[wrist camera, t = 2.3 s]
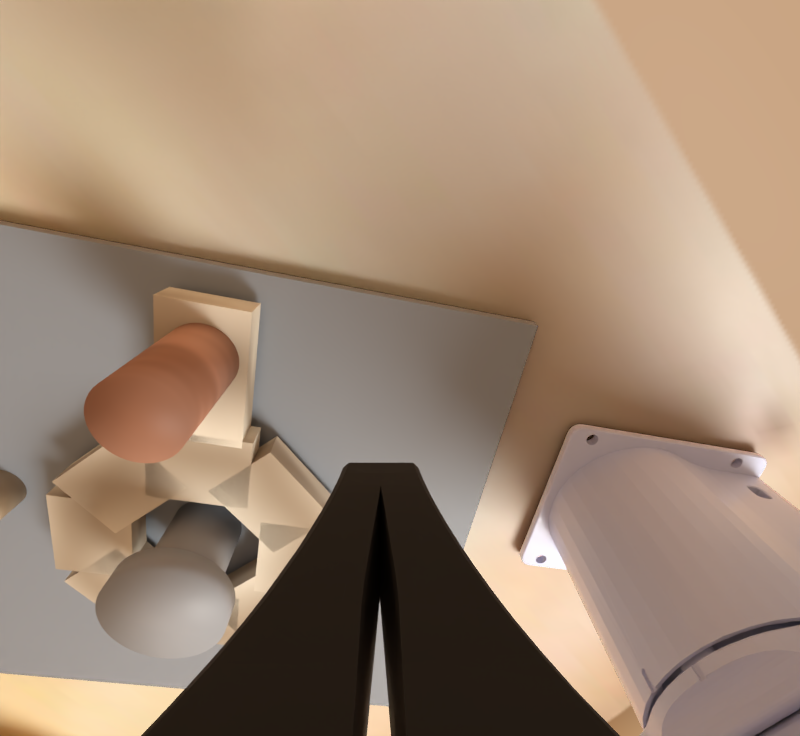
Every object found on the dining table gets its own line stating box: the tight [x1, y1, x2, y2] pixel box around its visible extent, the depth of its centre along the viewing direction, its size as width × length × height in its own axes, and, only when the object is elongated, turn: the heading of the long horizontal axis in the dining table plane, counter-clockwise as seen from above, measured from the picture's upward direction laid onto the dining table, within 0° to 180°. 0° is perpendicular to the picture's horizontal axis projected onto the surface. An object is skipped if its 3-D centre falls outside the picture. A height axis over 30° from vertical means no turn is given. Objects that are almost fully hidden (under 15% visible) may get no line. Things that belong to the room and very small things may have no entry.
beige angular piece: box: [46, 287, 331, 645], centre depth 16 cm, size 17×12×6 cm
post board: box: [0, 220, 538, 706], centre depth 18 cm, size 24×24×5 cm
